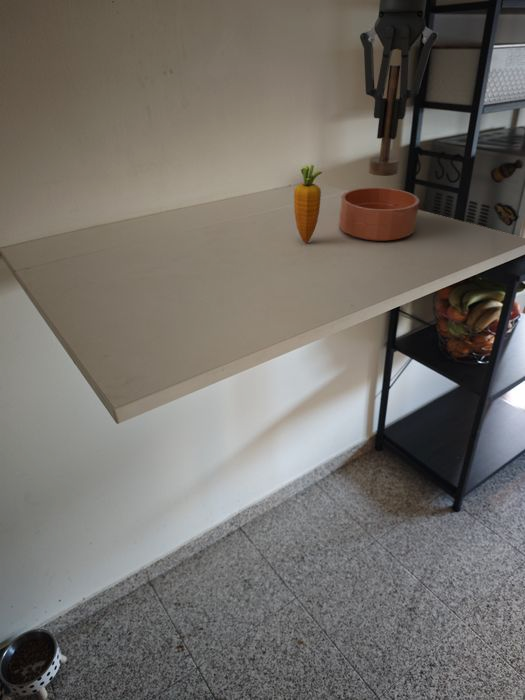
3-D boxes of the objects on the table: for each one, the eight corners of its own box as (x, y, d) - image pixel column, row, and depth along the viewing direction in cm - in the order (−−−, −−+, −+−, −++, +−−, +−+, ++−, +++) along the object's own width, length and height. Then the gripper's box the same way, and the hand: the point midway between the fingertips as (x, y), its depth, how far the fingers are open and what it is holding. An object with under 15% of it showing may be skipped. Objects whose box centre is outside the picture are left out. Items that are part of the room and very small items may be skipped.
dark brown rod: (398, 169, 100) (413, 64, 89) (395, 176, 95) (409, 66, 85) (370, 167, 101) (381, 63, 91) (365, 174, 97) (376, 66, 87)
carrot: (306, 236, 101) (308, 159, 93) (323, 243, 98) (328, 164, 90) (287, 242, 99) (289, 164, 91) (305, 249, 96) (308, 169, 87)
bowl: (417, 220, 108) (422, 190, 105) (409, 246, 96) (415, 213, 93) (347, 214, 113) (349, 184, 109) (331, 237, 101) (333, 206, 97)
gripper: (453, -17, 82) (428, 135, 95) (363, -14, 86) (351, 131, 100) (451, -19, 76) (425, 143, 90) (355, -16, 81) (343, 139, 94)
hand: (386, 137), depth 95 cm, fingers closed on dark brown rod, 2 cm apart
